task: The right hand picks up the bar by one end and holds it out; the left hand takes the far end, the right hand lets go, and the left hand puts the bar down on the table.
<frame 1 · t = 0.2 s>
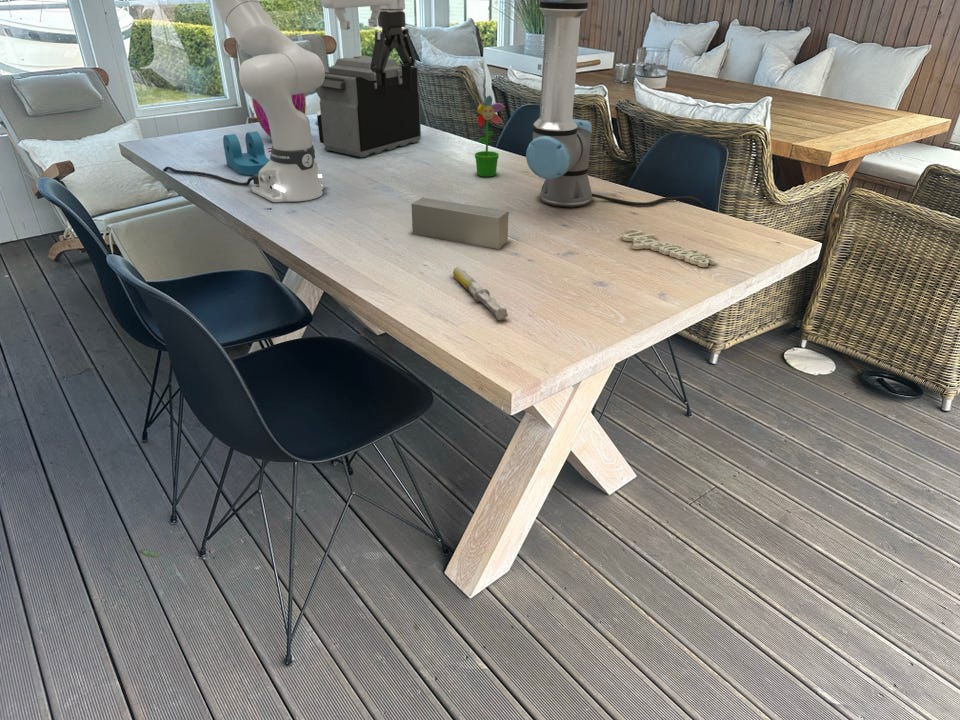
left hand: (359, 28, 165), 47 cm above the table, tool pointing down, fingers open, 8 cm apart
right hand: (395, 93, 197), 28 cm above the table, tool pointing down, fingers open, 13 cm apart
bar: (459, 237, 175), on the table
camera mount: (251, 168, 229), on the table
potted flower: (487, 174, 226), on the table
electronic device: (371, 146, 258), on the table
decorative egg: (284, 140, 265), on the table
decorative sign: (663, 250, 169), on the table
syringe: (478, 297, 145), on the table
ashtray: (345, 122, 294), on the table
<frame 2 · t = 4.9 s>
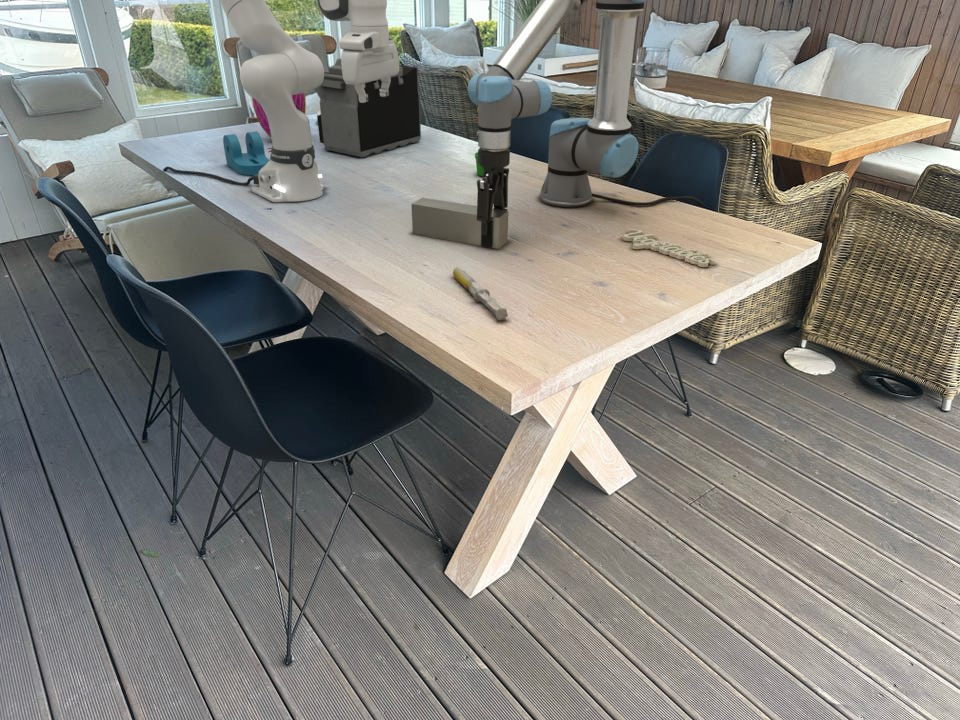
left hand: (374, 99, 172), 31 cm above the table, tool pointing down, fingers open, 8 cm apart
right hand: (492, 241, 172), 0 cm above the table, tool pointing down, fingers closed on bar, 6 cm apart
bar: (459, 237, 175), on the table, touching right hand
everything else where it was.
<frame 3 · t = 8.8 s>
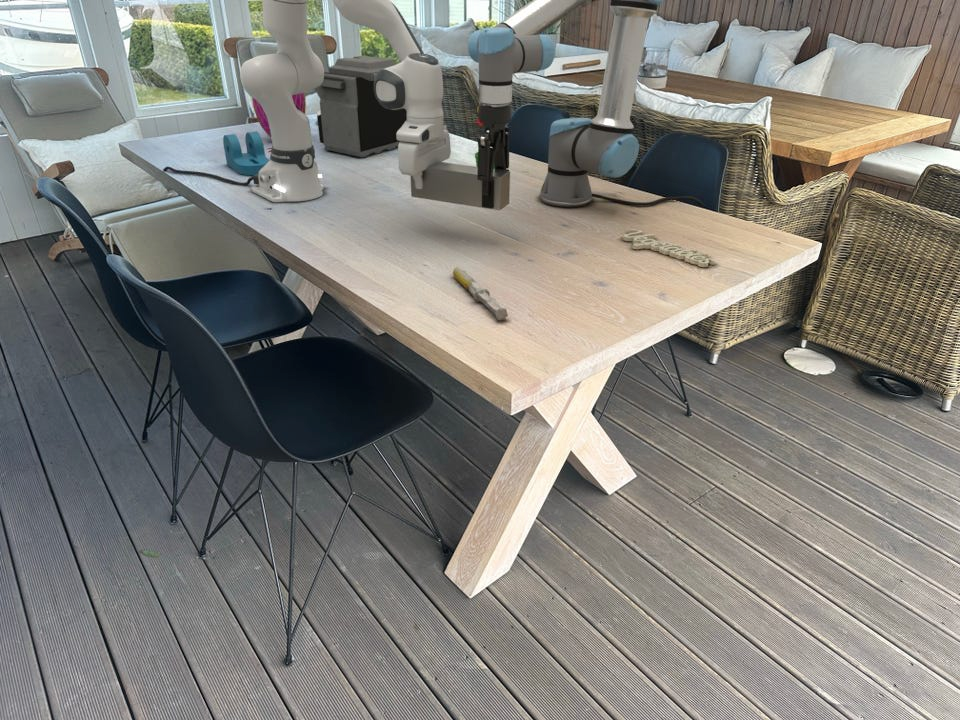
left hand: (426, 184, 172), 13 cm above the table, tool pointing down, fingers closed on bar, 6 cm apart
right hand: (493, 203, 167), 10 cm above the table, tool pointing down, fingers closed on bar, 6 cm apart
bar: (459, 200, 170), point 10 cm above the table, touching right hand, left hand
everything else where it was.
when the right hand's fingers open (10 cm above the table, at t = 9.8 s): bar stays where it is, held by the left hand.
when the left hand's fingers open (4 cm above the table, at t = 20.3 s): bar stays where it is, on the table.
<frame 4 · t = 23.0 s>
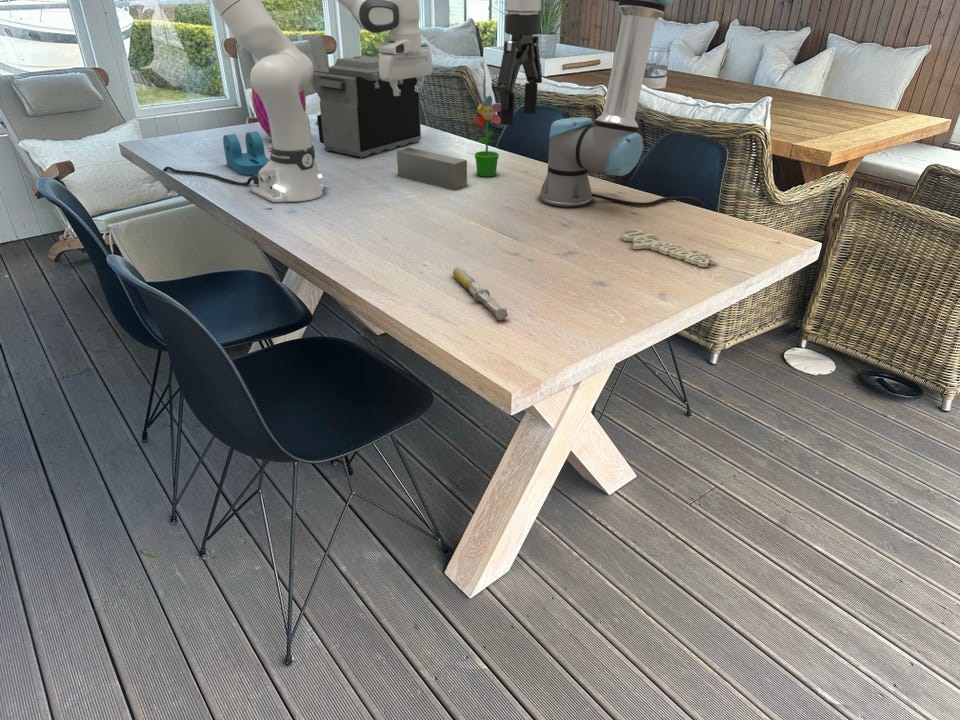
left hand: (407, 93, 211), 25 cm above the table, tool pointing down, fingers open, 8 cm apart
right hand: (518, 118, 154), 31 cm above the table, tool pointing down, fingers open, 13 cm apart
bar: (431, 180, 219), on the table
everything else where it was.
at the end: bar inside the target area (9.1 cm from its centre), on the table; the left hand is holding nothing; the right hand is holding nothing; bar at rest at the end (0.0 cm/s) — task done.
